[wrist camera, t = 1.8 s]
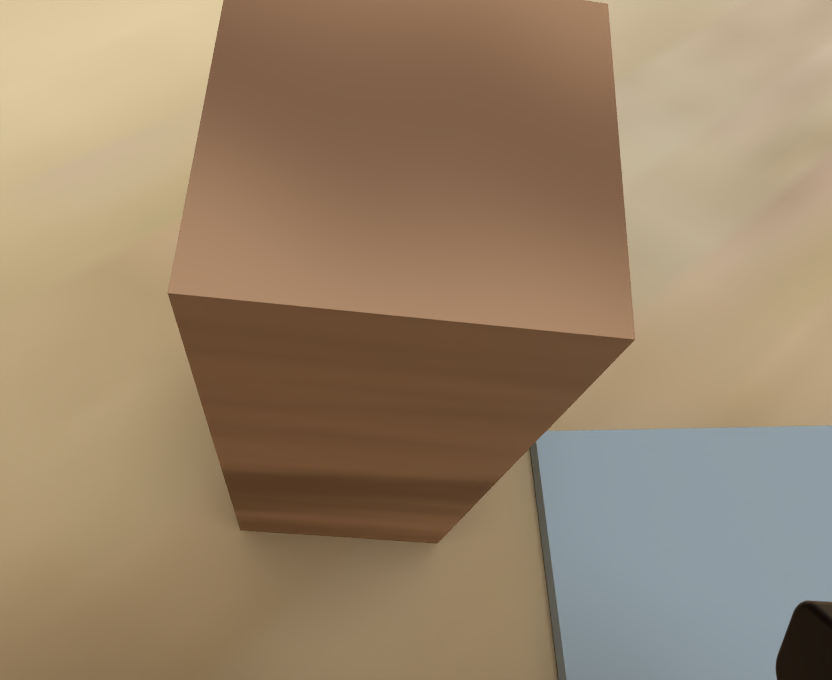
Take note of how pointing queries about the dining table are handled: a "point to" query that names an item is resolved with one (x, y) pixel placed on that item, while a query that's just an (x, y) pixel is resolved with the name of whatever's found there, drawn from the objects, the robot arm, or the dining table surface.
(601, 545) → the slate mat
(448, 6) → the walnut block
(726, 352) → the dining table surface
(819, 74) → the dining table surface
